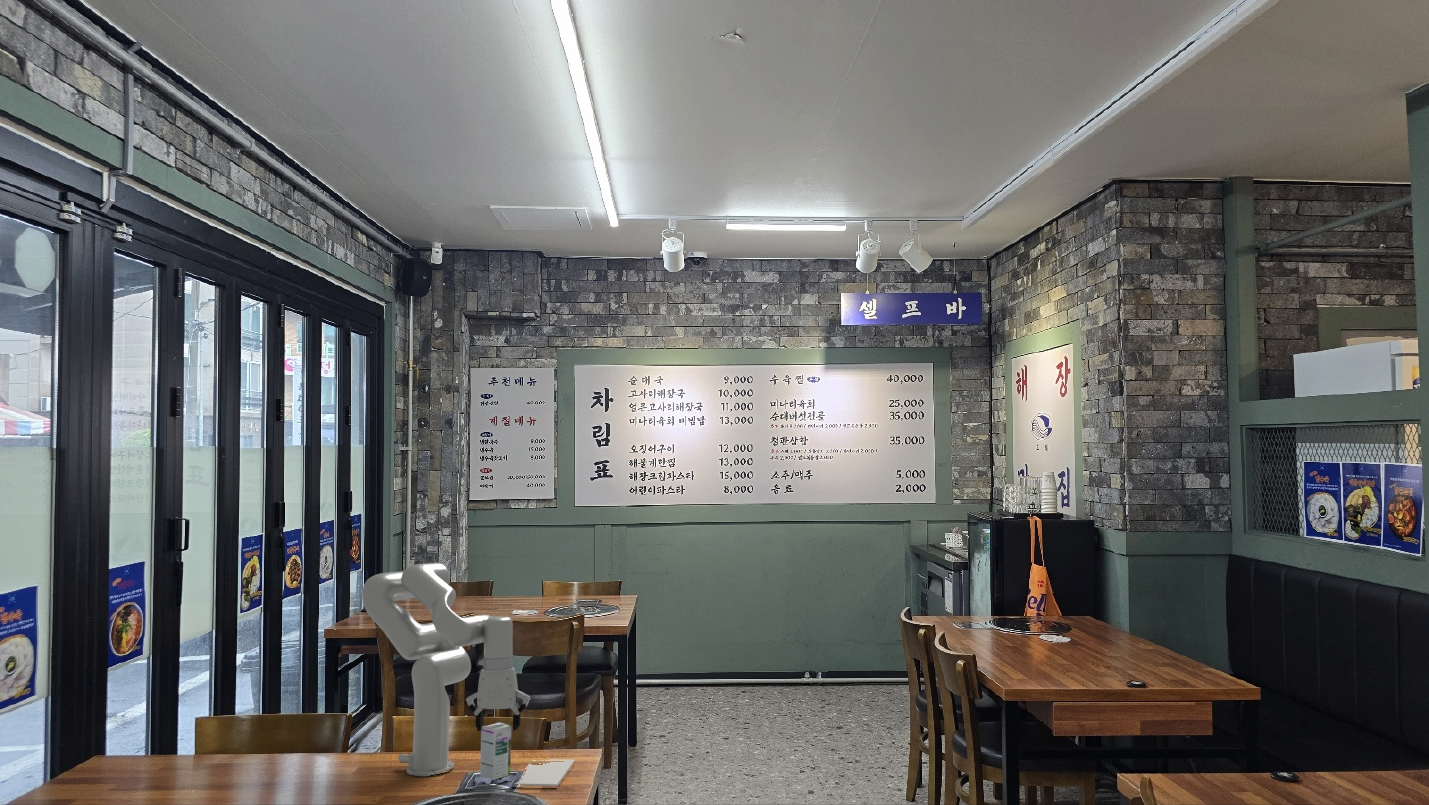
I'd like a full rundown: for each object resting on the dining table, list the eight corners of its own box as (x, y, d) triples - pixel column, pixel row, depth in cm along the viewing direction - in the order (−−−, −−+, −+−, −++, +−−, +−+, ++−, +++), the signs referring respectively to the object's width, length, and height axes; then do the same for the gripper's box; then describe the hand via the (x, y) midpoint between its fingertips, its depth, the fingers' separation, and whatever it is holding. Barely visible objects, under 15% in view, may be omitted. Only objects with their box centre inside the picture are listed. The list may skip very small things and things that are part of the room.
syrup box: (493, 786, 231) (495, 729, 233) (478, 782, 235) (481, 725, 236) (510, 781, 236) (512, 725, 237) (496, 776, 239) (498, 721, 241)
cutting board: (511, 788, 230) (511, 783, 230) (533, 763, 252) (533, 758, 252) (557, 789, 229) (557, 784, 229) (575, 764, 251) (575, 759, 251)
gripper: (462, 666, 235) (461, 733, 233) (526, 665, 234) (526, 732, 232) (471, 662, 243) (470, 726, 241) (533, 661, 242) (533, 725, 240)
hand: (498, 729), depth 236 cm, fingers open, 9 cm apart
